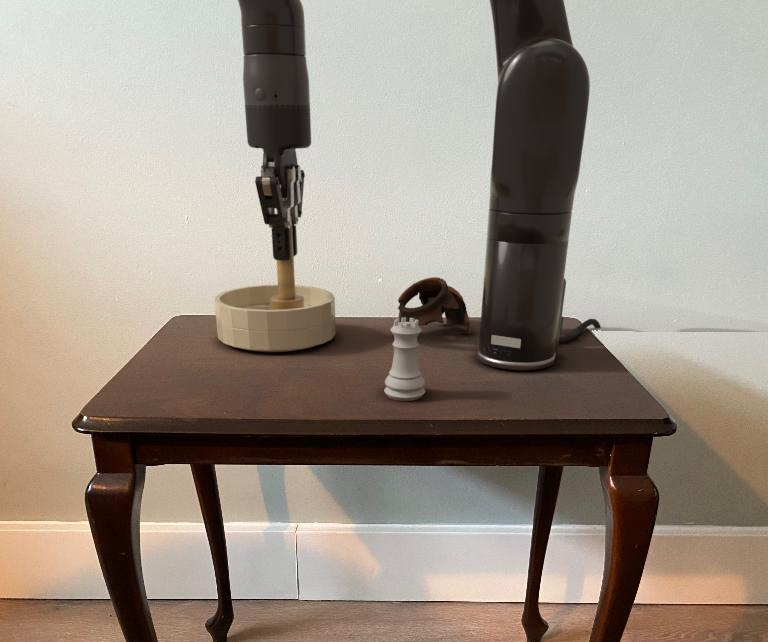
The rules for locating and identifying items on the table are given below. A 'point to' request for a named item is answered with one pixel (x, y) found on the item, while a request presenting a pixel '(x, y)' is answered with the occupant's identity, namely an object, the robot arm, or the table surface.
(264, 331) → the bowl
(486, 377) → the table surface
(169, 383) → the table surface
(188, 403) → the table surface
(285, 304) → the muddler
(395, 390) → the rook chess piece
